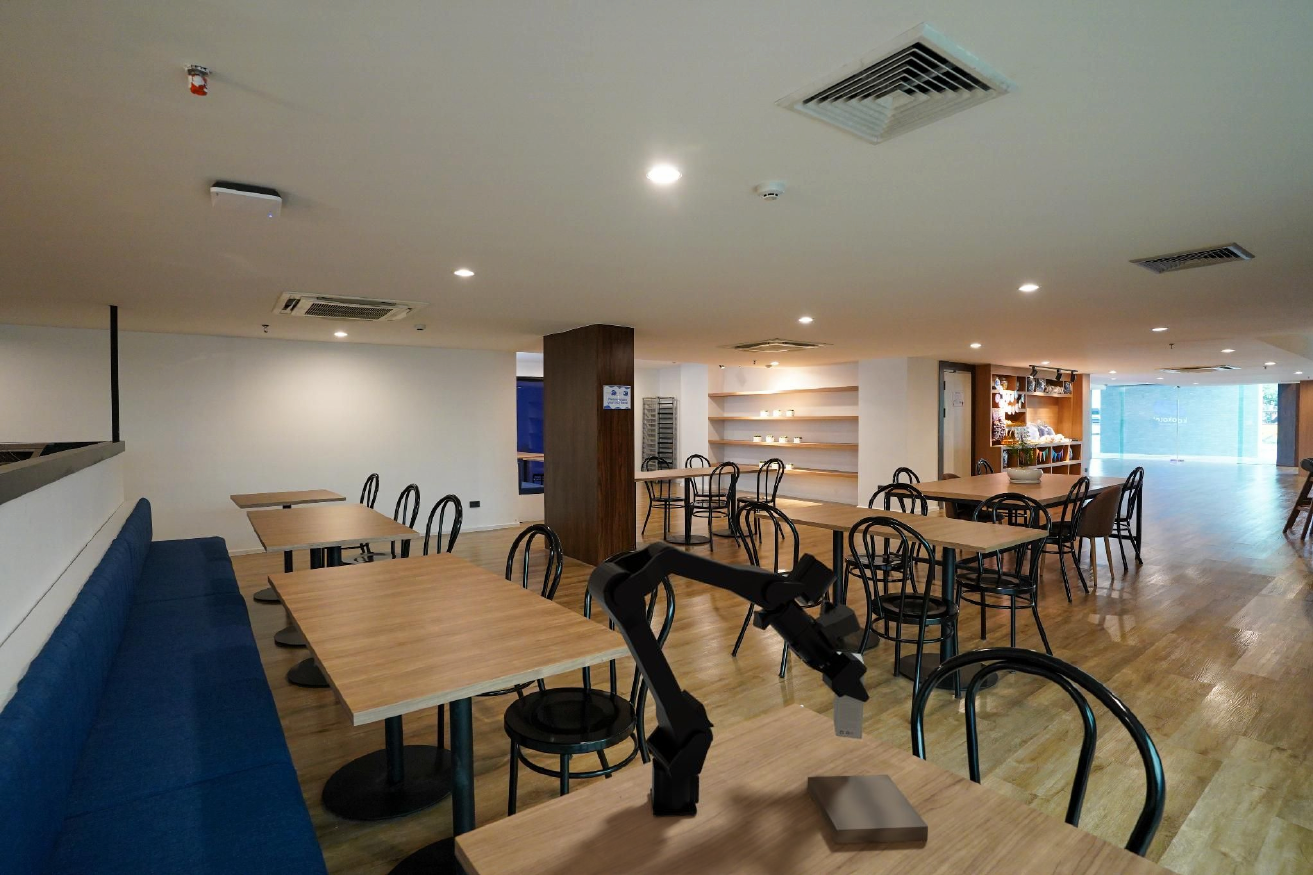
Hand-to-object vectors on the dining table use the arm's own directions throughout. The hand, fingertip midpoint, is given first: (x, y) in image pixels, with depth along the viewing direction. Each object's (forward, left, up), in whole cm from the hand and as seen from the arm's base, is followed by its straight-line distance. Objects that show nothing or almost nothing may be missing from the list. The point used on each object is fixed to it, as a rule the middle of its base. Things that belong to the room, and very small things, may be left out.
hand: (856, 690), depth 110 cm
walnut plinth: (-3, -12, -13) cm, 18 cm away
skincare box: (-1, 0, -7) cm, 7 cm away
